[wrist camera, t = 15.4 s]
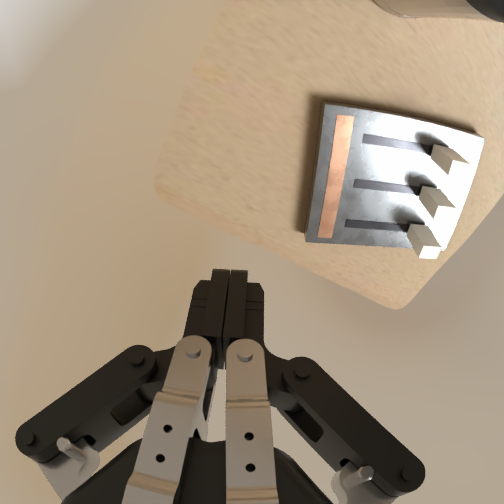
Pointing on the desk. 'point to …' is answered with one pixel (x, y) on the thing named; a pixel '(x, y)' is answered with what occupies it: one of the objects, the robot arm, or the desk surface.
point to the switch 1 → (423, 241)
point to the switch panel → (381, 176)
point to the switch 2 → (450, 162)
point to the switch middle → (437, 204)
